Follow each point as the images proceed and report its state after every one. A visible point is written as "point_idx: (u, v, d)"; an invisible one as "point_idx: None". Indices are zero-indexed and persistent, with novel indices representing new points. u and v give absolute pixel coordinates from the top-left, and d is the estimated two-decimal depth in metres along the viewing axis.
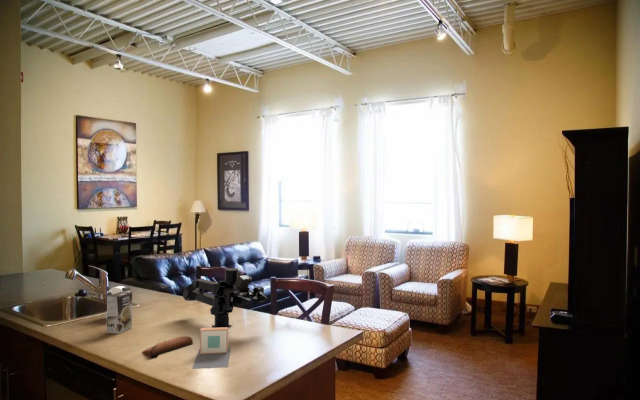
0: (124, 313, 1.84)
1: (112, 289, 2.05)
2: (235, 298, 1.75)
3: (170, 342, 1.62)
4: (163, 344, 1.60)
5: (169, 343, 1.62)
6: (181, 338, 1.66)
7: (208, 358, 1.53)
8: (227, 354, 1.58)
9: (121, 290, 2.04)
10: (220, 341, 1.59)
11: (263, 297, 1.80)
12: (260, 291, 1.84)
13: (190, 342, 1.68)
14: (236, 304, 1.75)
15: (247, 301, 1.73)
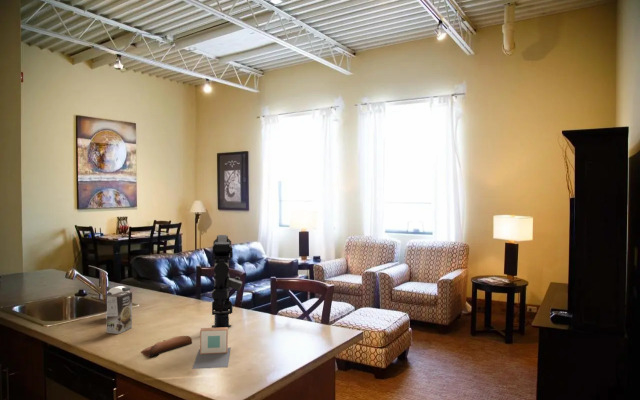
0: (124, 313, 1.84)
1: (112, 289, 2.05)
2: None
3: (169, 342, 1.63)
4: (162, 344, 1.61)
5: (168, 343, 1.62)
6: (180, 338, 1.67)
7: (208, 358, 1.53)
8: (227, 354, 1.58)
9: (121, 290, 2.04)
10: (220, 341, 1.59)
11: None
12: None
13: (189, 342, 1.68)
14: (215, 299, 1.70)
15: (220, 310, 1.72)
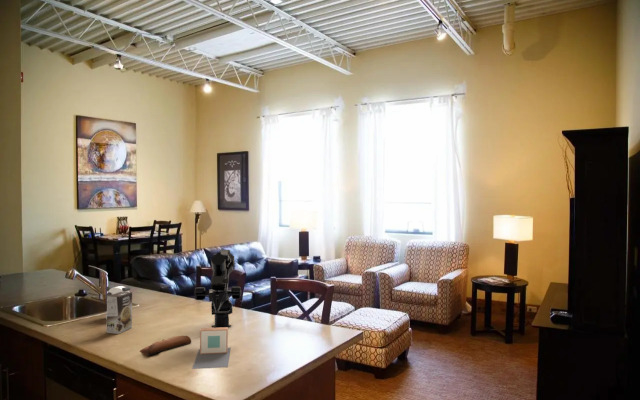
0: (124, 313, 1.84)
1: (112, 289, 2.05)
2: (211, 297, 1.74)
3: (168, 341, 1.63)
4: (160, 343, 1.61)
5: (167, 342, 1.63)
6: (179, 337, 1.67)
7: (208, 358, 1.53)
8: (227, 354, 1.58)
9: (121, 290, 2.04)
10: (220, 341, 1.59)
11: None
12: (221, 296, 1.73)
13: (188, 341, 1.68)
14: (212, 301, 1.75)
15: (215, 309, 1.70)
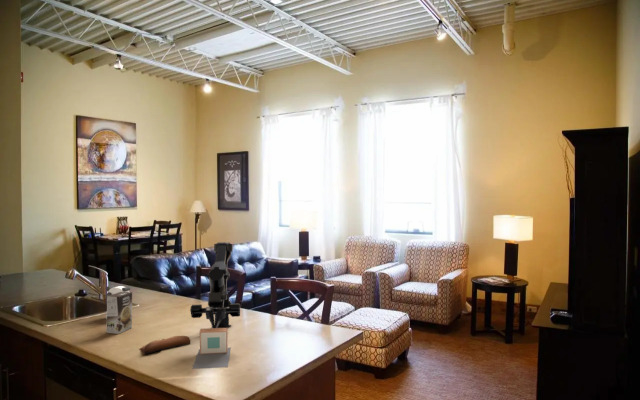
0: (124, 313, 1.84)
1: (112, 289, 2.05)
2: (208, 314, 1.63)
3: (166, 341, 1.64)
4: (158, 342, 1.62)
5: (165, 342, 1.63)
6: (178, 337, 1.67)
7: (208, 358, 1.53)
8: (227, 354, 1.58)
9: (121, 290, 2.04)
10: (220, 342, 1.58)
11: (214, 326, 1.61)
12: (219, 314, 1.63)
13: (187, 342, 1.68)
14: (209, 319, 1.65)
15: (212, 327, 1.60)
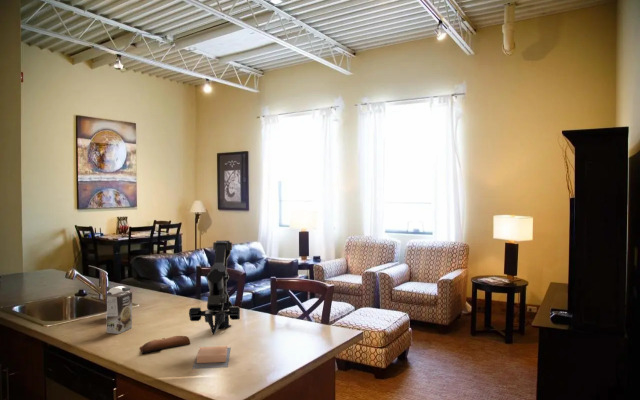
0: (124, 313, 1.84)
1: (112, 289, 2.05)
2: (207, 318, 1.60)
3: (165, 340, 1.64)
4: (157, 341, 1.63)
5: (163, 341, 1.64)
6: (178, 337, 1.67)
7: None
8: (227, 354, 1.58)
9: (121, 290, 2.04)
10: None
11: None
12: (218, 317, 1.59)
13: (187, 342, 1.68)
14: (208, 322, 1.61)
15: None
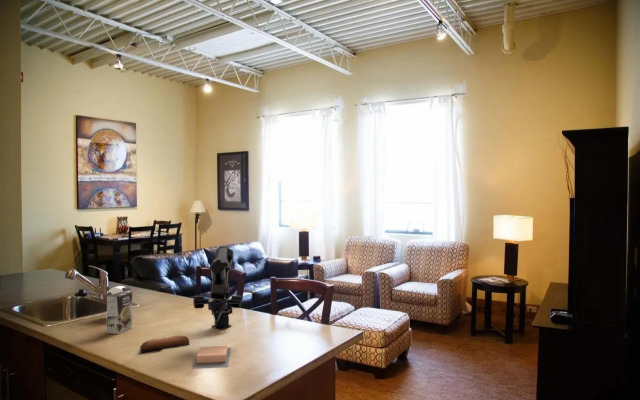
0: (124, 313, 1.84)
1: (112, 289, 2.05)
2: None
3: (164, 340, 1.65)
4: (156, 341, 1.63)
5: (162, 341, 1.64)
6: (177, 337, 1.67)
7: None
8: (227, 354, 1.58)
9: (121, 290, 2.04)
10: None
11: None
12: (221, 305, 1.69)
13: (186, 343, 1.67)
14: (211, 310, 1.71)
15: (214, 318, 1.67)
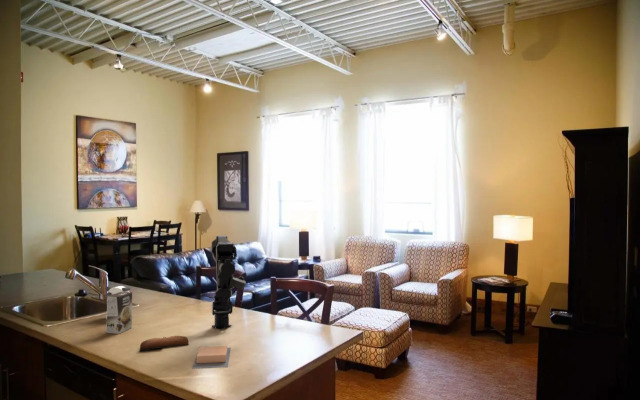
0: (124, 313, 1.84)
1: (112, 289, 2.05)
2: None
3: (163, 339, 1.65)
4: (155, 340, 1.64)
5: (162, 340, 1.65)
6: (177, 337, 1.67)
7: None
8: (227, 354, 1.58)
9: (121, 290, 2.04)
10: None
11: None
12: None
13: (185, 343, 1.67)
14: (219, 296, 1.76)
15: (225, 307, 1.77)
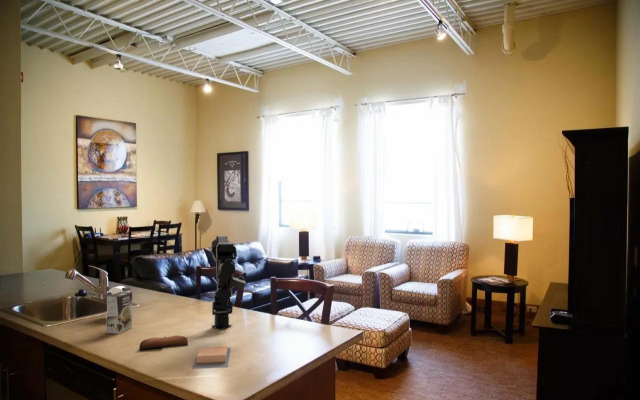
0: (124, 313, 1.84)
1: (112, 289, 2.05)
2: None
3: (163, 339, 1.66)
4: (155, 339, 1.65)
5: (161, 340, 1.65)
6: (176, 337, 1.67)
7: None
8: (227, 354, 1.58)
9: (121, 290, 2.04)
10: None
11: None
12: None
13: (184, 343, 1.67)
14: (219, 296, 1.76)
15: (225, 307, 1.77)
